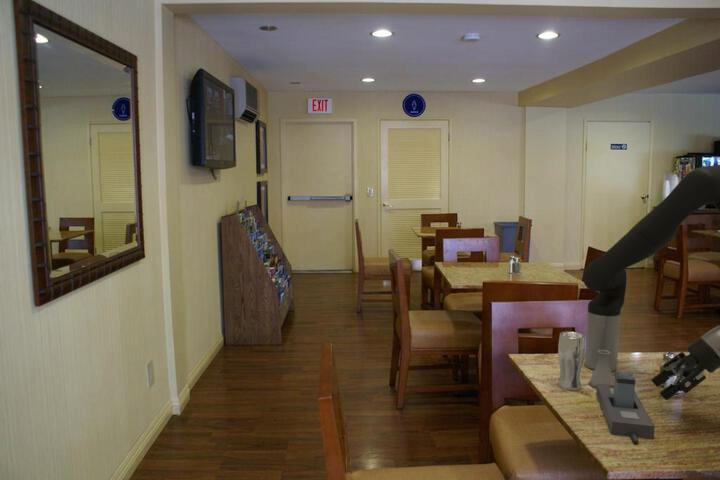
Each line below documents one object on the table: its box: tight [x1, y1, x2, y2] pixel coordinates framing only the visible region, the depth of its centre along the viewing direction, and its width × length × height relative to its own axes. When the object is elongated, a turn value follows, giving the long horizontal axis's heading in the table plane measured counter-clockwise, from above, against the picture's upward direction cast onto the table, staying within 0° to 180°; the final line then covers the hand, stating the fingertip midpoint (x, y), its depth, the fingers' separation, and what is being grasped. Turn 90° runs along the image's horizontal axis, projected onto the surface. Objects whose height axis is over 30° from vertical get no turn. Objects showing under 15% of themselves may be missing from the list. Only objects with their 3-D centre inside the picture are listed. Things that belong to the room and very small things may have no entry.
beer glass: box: [557, 331, 586, 391], centre depth 160 cm, size 7×7×15 cm
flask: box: [588, 350, 615, 389], centre depth 162 cm, size 7×7×10 cm
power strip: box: [595, 383, 655, 445], centre depth 141 cm, size 28×9×4 cm, turn 166°
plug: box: [613, 372, 636, 409], centre depth 143 cm, size 4×4×10 cm
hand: (658, 390), depth 140 cm, fingers open, 8 cm apart
